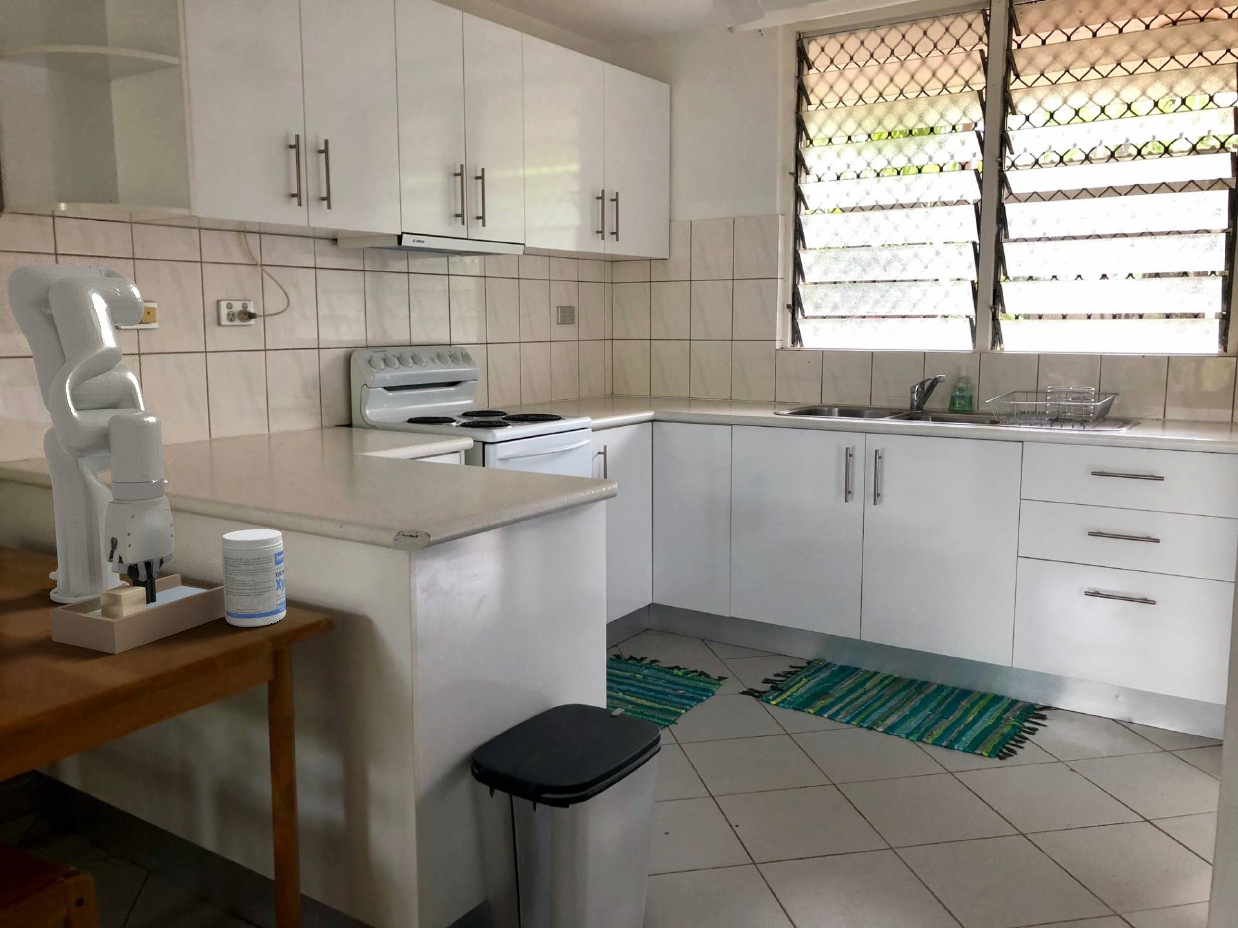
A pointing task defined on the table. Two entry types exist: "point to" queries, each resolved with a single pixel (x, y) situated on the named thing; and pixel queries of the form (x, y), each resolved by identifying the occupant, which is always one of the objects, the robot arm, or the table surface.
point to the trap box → (137, 618)
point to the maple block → (122, 601)
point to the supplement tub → (253, 577)
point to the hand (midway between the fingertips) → (145, 602)
